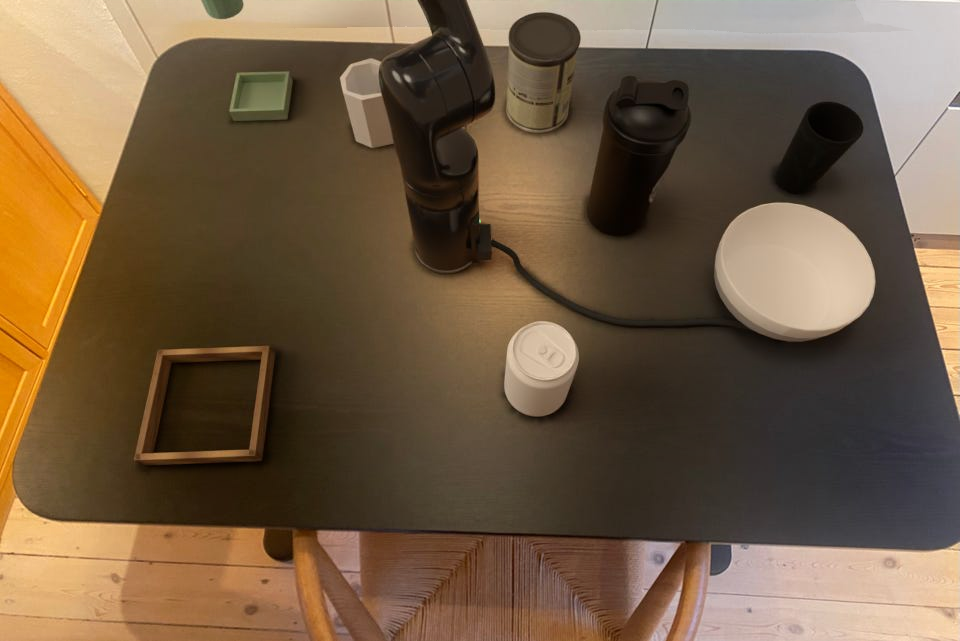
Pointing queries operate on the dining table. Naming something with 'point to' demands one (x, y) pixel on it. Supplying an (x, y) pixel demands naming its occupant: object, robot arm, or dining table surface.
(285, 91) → the tray
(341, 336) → the dining table surface
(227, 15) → the bottle
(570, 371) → the beverage can
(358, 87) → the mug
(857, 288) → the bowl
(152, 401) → the wooden square frame
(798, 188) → the cup
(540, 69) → the coffee can
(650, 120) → the water bottle
